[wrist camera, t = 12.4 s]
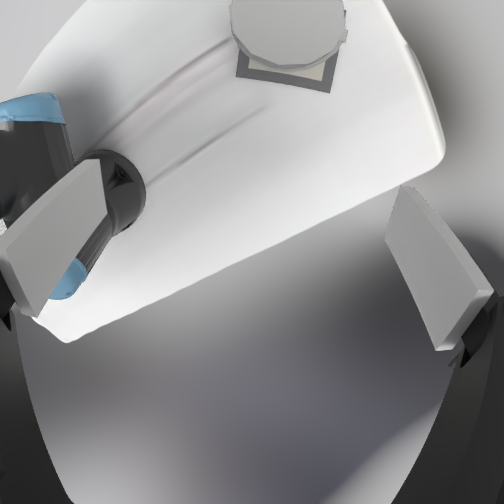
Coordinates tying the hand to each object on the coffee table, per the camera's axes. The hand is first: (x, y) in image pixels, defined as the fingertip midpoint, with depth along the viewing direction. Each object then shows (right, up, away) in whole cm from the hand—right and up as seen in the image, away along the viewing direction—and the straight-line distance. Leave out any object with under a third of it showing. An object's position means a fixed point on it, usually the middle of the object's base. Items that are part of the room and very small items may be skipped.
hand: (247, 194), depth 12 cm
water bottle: (+5, +26, +20) cm, 33 cm away
